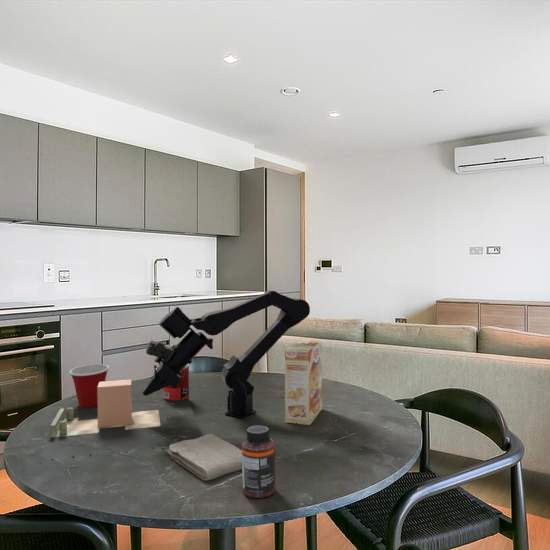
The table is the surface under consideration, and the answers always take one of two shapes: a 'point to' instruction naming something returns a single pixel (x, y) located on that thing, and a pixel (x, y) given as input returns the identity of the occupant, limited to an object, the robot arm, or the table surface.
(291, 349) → the coffeecake box
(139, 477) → the table surface
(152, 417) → the trap board
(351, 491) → the table surface
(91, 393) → the plastic cup
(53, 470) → the table surface
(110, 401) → the block
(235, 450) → the washcloth
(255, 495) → the supplement bottle
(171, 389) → the canned food
